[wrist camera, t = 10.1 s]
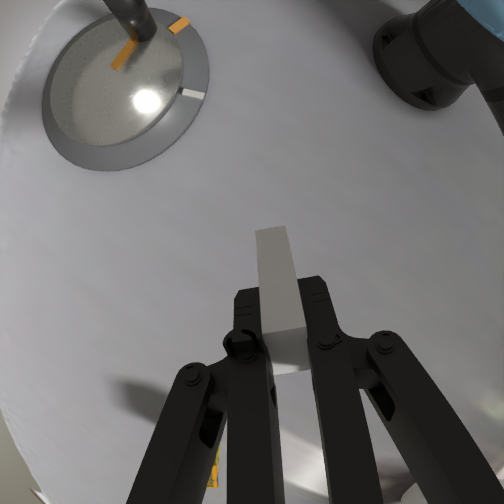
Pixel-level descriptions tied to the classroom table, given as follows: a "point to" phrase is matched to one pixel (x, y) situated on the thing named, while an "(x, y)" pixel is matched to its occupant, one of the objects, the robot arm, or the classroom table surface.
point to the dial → (117, 78)
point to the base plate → (164, 130)
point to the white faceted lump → (413, 496)
